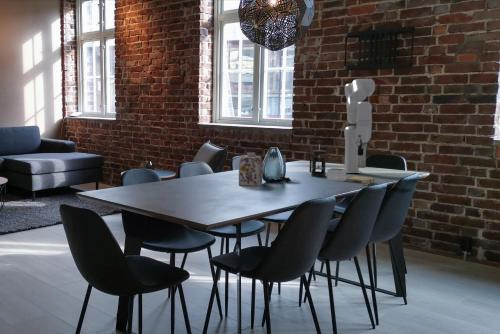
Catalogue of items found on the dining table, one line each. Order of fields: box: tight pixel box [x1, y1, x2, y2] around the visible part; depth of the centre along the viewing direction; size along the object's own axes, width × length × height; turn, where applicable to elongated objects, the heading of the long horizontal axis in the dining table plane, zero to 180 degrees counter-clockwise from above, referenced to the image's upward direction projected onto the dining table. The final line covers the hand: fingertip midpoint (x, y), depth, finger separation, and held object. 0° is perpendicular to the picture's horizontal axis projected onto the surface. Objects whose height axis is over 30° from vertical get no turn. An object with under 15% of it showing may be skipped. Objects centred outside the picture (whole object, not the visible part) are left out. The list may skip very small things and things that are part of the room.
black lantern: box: [309, 140, 327, 178], centre depth 317 cm, size 12×9×23 cm
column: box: [358, 142, 368, 169], centre depth 296 cm, size 5×5×15 cm
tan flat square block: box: [346, 175, 375, 185], centre depth 298 cm, size 12×12×3 cm
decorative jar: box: [238, 152, 264, 187], centre depth 286 cm, size 12×12×18 cm
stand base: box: [323, 167, 347, 182], centre depth 305 cm, size 12×12×7 cm
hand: (361, 154), depth 296 cm, fingers closed on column, 4 cm apart
